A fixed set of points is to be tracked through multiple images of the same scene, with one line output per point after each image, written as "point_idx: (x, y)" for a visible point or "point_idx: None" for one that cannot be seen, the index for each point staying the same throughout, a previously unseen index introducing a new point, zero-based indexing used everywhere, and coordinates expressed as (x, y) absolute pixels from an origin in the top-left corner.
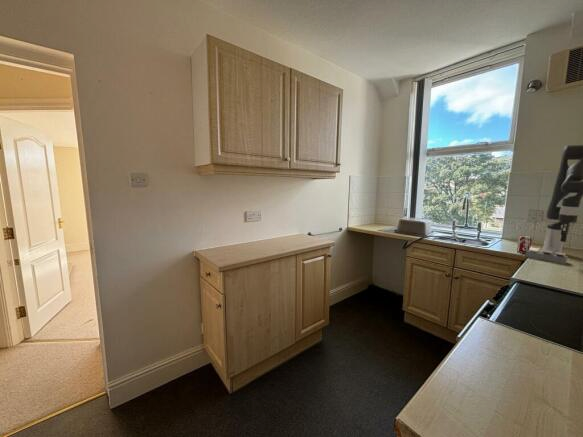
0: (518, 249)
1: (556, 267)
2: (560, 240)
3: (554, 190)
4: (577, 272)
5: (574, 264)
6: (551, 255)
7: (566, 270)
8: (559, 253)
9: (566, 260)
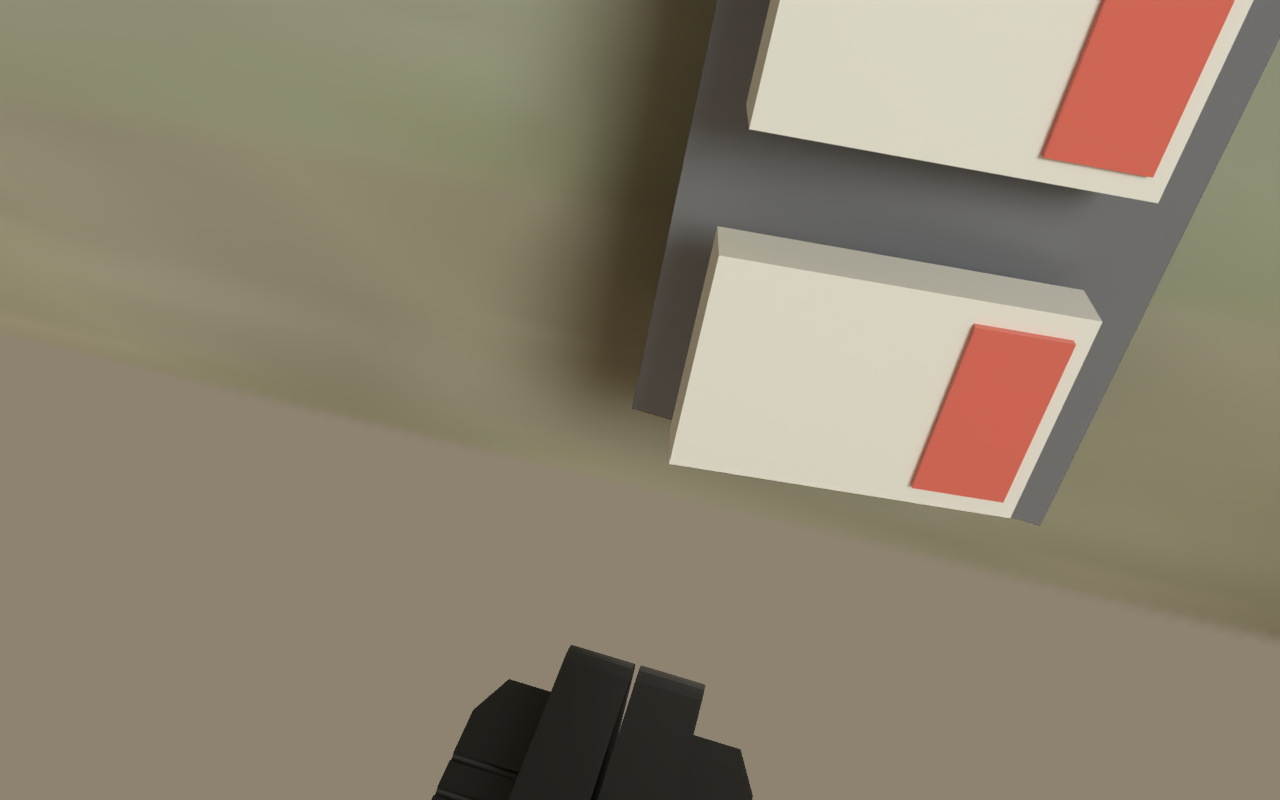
0: None
1: (189, 82)
2: (566, 669)
3: None
4: (148, 369)
5: (911, 510)
6: None
7: (110, 223)
8: (692, 335)
9: None
